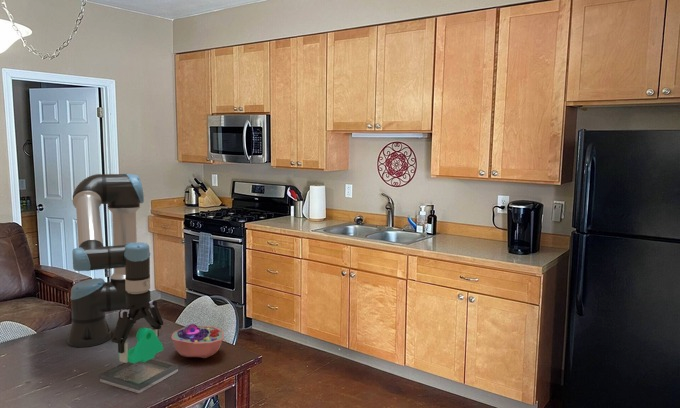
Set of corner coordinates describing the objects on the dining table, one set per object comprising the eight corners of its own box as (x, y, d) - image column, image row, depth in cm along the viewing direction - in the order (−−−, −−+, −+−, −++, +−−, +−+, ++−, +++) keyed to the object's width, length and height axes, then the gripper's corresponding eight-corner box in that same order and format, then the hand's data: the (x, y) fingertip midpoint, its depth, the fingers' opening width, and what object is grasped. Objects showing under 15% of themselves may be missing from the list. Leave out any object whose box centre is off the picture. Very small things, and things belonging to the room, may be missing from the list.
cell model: (201, 371, 170) (201, 339, 168) (161, 357, 179) (160, 327, 178) (235, 353, 184) (235, 324, 183) (195, 342, 194) (195, 314, 193)
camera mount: (146, 348, 170) (146, 320, 169) (163, 353, 167) (162, 323, 166) (117, 361, 159) (116, 331, 158) (134, 366, 156) (133, 335, 155)
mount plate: (99, 381, 160) (99, 374, 160) (140, 361, 175) (140, 354, 175) (139, 393, 153) (138, 385, 153) (177, 371, 168) (177, 364, 168)
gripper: (115, 302, 148) (117, 371, 151) (173, 283, 170) (174, 343, 173) (97, 298, 151) (100, 366, 154) (157, 280, 173) (158, 339, 176)
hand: (139, 354), depth 163 cm, fingers closed on camera mount, 12 cm apart
